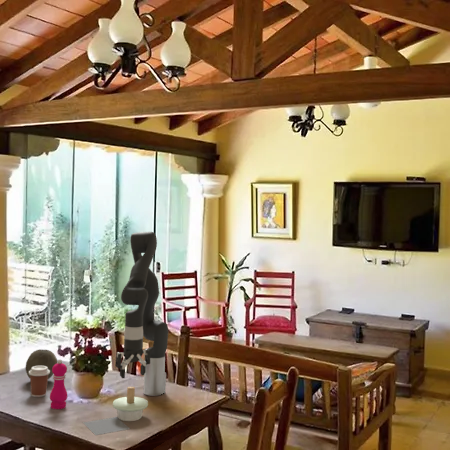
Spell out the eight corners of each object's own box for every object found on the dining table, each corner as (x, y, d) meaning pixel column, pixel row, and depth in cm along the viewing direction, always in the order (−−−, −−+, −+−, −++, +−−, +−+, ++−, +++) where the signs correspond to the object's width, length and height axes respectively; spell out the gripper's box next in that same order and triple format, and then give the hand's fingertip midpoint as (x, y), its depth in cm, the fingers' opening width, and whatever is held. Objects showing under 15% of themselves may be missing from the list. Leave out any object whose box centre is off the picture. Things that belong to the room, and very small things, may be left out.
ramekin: (130, 425, 237) (131, 412, 237) (109, 418, 243) (110, 405, 243) (149, 417, 247) (149, 404, 246) (128, 411, 253) (128, 398, 252)
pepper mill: (62, 410, 249) (63, 362, 248) (46, 408, 251) (47, 361, 250) (70, 405, 256) (71, 358, 255) (54, 403, 258) (56, 356, 257)
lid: (139, 397, 254) (140, 380, 254) (153, 408, 243) (154, 390, 242) (107, 402, 247) (108, 384, 247) (120, 413, 235) (121, 395, 235)
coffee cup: (51, 391, 273) (52, 365, 272) (46, 398, 263) (47, 371, 263) (31, 390, 272) (32, 364, 272) (25, 397, 263) (26, 370, 263)
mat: (116, 417, 244) (116, 416, 244) (130, 429, 232) (130, 428, 232) (82, 423, 236) (82, 422, 236) (95, 436, 225) (95, 435, 225)
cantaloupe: (51, 386, 279) (52, 354, 278) (20, 385, 279) (21, 353, 279) (60, 377, 293) (61, 347, 293) (31, 376, 293) (32, 345, 293)
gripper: (145, 333, 250) (144, 371, 251) (113, 336, 243) (112, 376, 243) (153, 337, 244) (152, 376, 245) (120, 340, 236) (119, 381, 237)
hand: (132, 376), depth 244 cm, fingers open, 8 cm apart
